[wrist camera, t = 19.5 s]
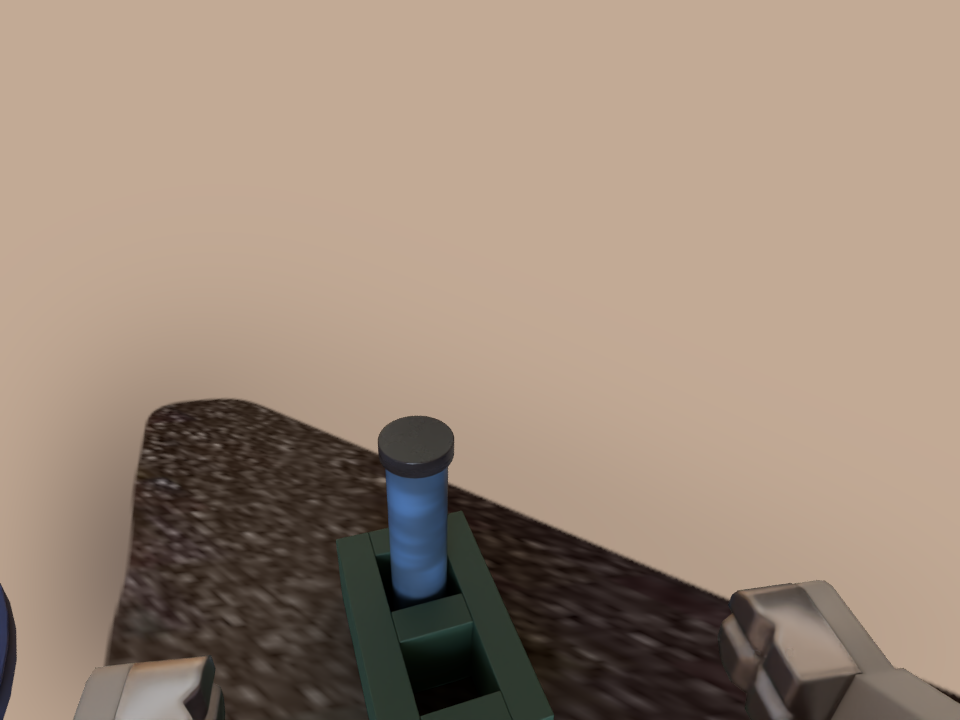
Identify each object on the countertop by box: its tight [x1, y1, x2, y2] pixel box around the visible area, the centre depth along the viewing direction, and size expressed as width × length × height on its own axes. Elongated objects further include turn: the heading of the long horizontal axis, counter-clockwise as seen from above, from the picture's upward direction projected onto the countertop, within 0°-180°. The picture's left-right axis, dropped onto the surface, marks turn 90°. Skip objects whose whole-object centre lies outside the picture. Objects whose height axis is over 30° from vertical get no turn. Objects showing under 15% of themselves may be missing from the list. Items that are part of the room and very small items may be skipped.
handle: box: [378, 416, 454, 611], centre depth 37 cm, size 4×4×15 cm
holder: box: [336, 511, 554, 720], centre depth 38 cm, size 8×14×5 cm, turn 19°
